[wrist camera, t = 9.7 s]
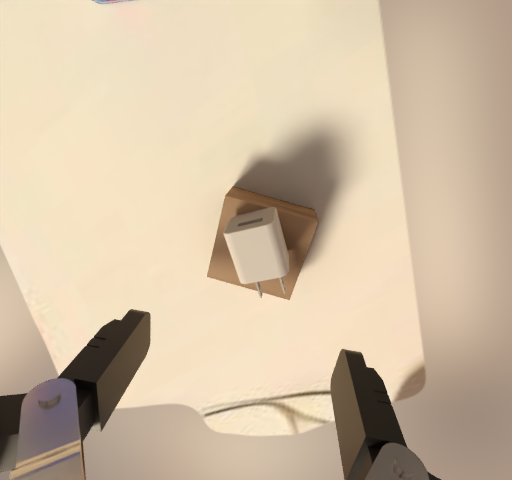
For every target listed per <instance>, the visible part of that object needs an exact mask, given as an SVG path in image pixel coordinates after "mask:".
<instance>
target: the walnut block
mask: <svg viewBox="0 0 512 480" xmlns="http://www.w3.org/2000/svg"><path fill="white" fill-rule="evenodd" d="M271 207H275V208H276V209H277V213H278V217H279V220H280V224H281V228H282V232H283V236H284V239H285V243H286V247H287V251H288V255H289V273H288V274H287V275H285V276H283V277H282V278H283V282H284V286H285V294H284V293H283V289H282V286H281V283H280V279H279V278H275V279H270V280H265V281H259V284H260V287H261V290H262V292H263V293H267V294H270V295H274V296H277V297H281V298H284V299H288V300H290V297H291V295H292V292H293V289H294V286H295V284H296V281H297V278H298V276H299V273H300V270H301V268H302V265H303V262H304V259H305V257H306V254H307V251H308V249H309V246H310V243H311V240H312V238H313V235H314V232H315V230H316V227H317V224H318V219H317V216H316V213H315V210H313V209H310V208H306V207H303V206H299V205H296V204H292V203H289V202H285V201H282V200H278V199H274V198H271V197H267V196H264V195H260V194H257V193H253V192H250V191H246V190H243V189H239V188H236V187H232V188H231V189H230V191H229V192H228V193H227V194H226V195H225V199H224V204H223V208H222V213H221V217H220V222H219V226H218V230H217V235H216V239H215V244H214V248H213V252H212V257H211V261H210V266H209V270H208V274H207V277H210V278H213V279H217V280H220V281H224V282H227V283H231V284H235V285H238V286H242V287H245V288H249V289H252V290H256V291H258V290H257V287H256V283H255V282H254V283H249V284H242V283H240V280H239V277H238V274H237V271H236V269H235V266H234V263H233V260H232V257H231V254H230V251H229V248H228V245H227V242H226V240H225V237H224V234H223V231H224V229H225V227H226V225H227V223H228V221H229V220H230V219H231V218H232V217H235V216H237V215H241V214H245V213H250V212H254V211H258V210H262V209H266V208H271Z"/></svg>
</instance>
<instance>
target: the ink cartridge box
mask: <svg viewBox="0 0 512 480" xmlns="http://www.w3.org/2000/svg"><path fill="white" fill-rule="evenodd" d="M93 1H95V2H96V3H99V4H106V3H116V2H123V1H132V0H93Z"/></svg>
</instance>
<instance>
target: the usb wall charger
mask: <svg viewBox="0 0 512 480" xmlns="http://www.w3.org/2000/svg"><path fill="white" fill-rule="evenodd" d="M223 234H224V237H225V240H226V242H227V245H228V248H229V251H230V254H231V257H232V260H233V263H234V266H235V269H236V271H237V274H238V277H239V280H240V283H242V284H249V283H254V282H255V283H256V287H257V290H258V292H259V295H260V298H262V290H261V287H260V284H259V281H265V280H270V279H275V278H279V279H280V283H281V286H282V289H283V293H284V294H285V286H284V282H283V278H282V277H283V276H285V275H287V274H288V273H289V255H288V251H287V247H286V243H285V239H284V236H283V232H282V228H281V224H280V220H279V217H278V213H277V209H276V208H275V207H271V208H266V209H262V210H258V211H254V212H250V213H245V214H241V215H237V216H235V217H232V218H231V219H230V220H229V221H228V223H227V225H226V227H225V229H224V231H223Z"/></svg>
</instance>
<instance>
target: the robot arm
mask: <svg viewBox="0 0 512 480" xmlns="http://www.w3.org/2000/svg"><path fill="white" fill-rule="evenodd" d="M149 346H150V313H149V312H144V311H139V310H133V309H131V310H129V311H128V313H127V314H126V315H125V316H124V317H123V319H122V320H116V319H114V320H113V321H111V322H109V323H108V324H106V325H104V326H103V327H102V328H101V329H100V330H99V331H98V332H97V334H96V335H95V336H94V338H92V339H91V340H90V341H89V343H88V344H87V346H85V347H84V348H83V349H82V351H81V352H80V353H79V354H78V355H77V356H76V357H75V359H74V360H73V361H72V362H71V363H70V364H69V365H68V367H67V368H66V369H65V370H64V371H63V372H62V373H61V374H60V376H59V377H58V378H57V379H52V380H48V381H45V382H43V383H41V384H39V385H37V386H36V387H34V388H33V389H32V390H31V391H30V392H29V393H26V394H17V395H7V396H0V472H3V471H9V470H12V471H11V473H10V477H9V480H86V471H85V459H84V447H83V440H84V439H85V437H86V436H87V434H88V432H89V431H90V430H93V431H98V432H101V431H102V429H103V428H104V426H105V424H106V422H107V421H108V419H109V418H110V416H111V414H112V412H113V411H114V409H115V407H116V406H117V404H118V402H119V401H120V399H121V397H122V396H123V394H124V392H125V390H126V389H127V387H128V385H129V384H130V382H131V380H132V379H133V377H134V375H135V374H136V372H137V370H138V368H139V367H140V365H141V363H142V362H143V360H144V358H145V357H146V355H147V352H148V349H149ZM331 397H332V403H333V409H334V416H335V422H336V428H337V435H338V441H339V447H340V454H341V460H342V466H343V472H344V479H345V480H441V479H439V478H436V477H435V476H433V475H431V474H430V473H429V472H427V470H426V468H425V466H424V464H423V463H422V461H421V460H420V459H419V458H418V457H417V456H416V454H414V453H413V452H412V451H411V450H410V449H408V448H407V445H406V443H405V440H404V437H403V434H402V432H401V429H400V426H399V423H398V421H397V418H396V415H395V413H394V410H393V407H392V406H391V401H390V399H389V396H388V395H387V390H386V388H385V385H384V382H383V380H382V379H381V377H380V376H379V375H378V373H377V372H376V371H375V370H374V368H368V367H366V364H365V361H364V358H363V355H362V353H361V352H356V351H350V350H345V349H342V350H341V351H340V354H339V357H338V360H337V363H336V366H335V368H334V371H333V374H332V378H331Z"/></svg>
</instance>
